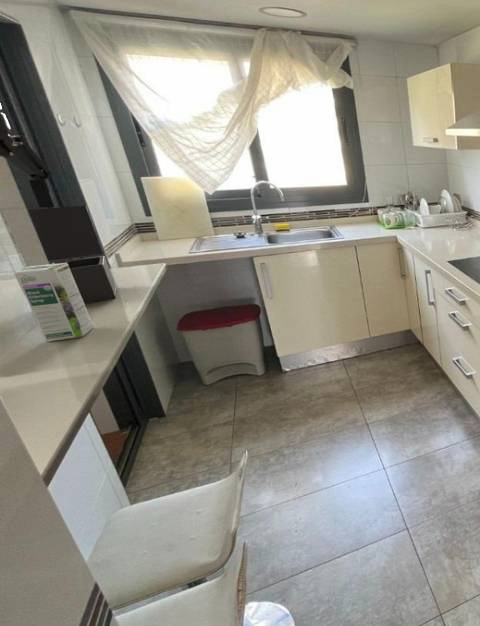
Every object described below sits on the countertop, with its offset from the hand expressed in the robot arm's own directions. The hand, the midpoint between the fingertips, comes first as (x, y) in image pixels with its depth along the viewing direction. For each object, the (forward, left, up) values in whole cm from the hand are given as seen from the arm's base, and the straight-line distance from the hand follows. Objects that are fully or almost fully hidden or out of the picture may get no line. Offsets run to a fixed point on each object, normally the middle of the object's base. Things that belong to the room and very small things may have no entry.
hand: (19, 211), depth 106 cm
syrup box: (+24, -22, -22) cm, 39 cm away
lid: (+1, +7, -6) cm, 10 cm away
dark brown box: (+6, +2, -22) cm, 23 cm away
